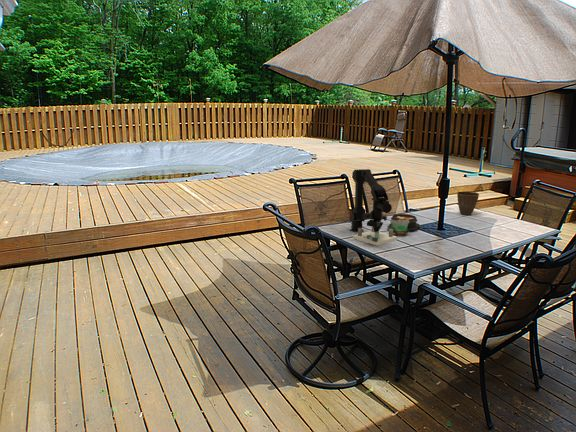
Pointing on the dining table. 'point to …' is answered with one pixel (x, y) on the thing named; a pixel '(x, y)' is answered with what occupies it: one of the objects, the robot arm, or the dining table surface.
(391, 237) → the cream square peg board
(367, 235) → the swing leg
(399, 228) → the food container
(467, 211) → the plant pot
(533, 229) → the dining table surface
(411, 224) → the casserole
